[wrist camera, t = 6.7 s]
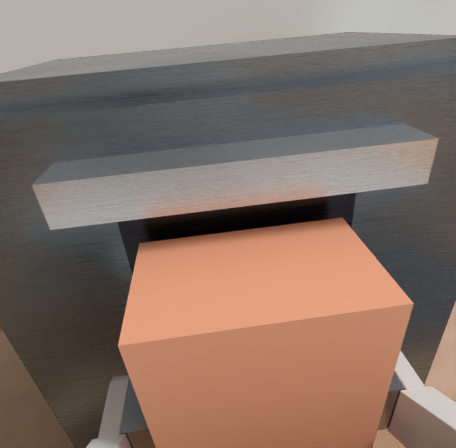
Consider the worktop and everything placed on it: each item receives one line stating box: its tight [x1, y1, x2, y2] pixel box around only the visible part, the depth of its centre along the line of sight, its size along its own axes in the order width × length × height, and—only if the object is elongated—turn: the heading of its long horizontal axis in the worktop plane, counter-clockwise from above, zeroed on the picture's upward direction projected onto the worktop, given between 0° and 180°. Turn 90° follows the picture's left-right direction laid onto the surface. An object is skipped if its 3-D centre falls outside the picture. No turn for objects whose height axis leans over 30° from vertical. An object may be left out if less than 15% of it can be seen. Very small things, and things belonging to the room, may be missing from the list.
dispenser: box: [0, 32, 456, 448], centre depth 14 cm, size 10×14×14 cm
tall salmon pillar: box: [118, 218, 414, 448], centre depth 9 cm, size 3×5×10 cm, turn 97°
